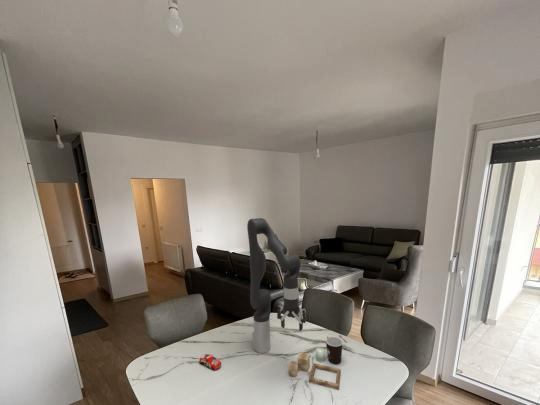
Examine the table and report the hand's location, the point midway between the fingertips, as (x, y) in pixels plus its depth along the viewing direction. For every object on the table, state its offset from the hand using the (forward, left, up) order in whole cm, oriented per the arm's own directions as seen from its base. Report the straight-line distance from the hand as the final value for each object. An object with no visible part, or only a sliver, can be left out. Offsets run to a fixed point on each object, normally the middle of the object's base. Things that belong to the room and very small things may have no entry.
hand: (292, 328), depth 113 cm
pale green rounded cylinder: (+11, +15, -22) cm, 29 cm away
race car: (-43, -7, -23) cm, 49 cm away
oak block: (+4, +6, -22) cm, 23 cm away
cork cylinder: (0, 0, -22) cm, 22 cm away
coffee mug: (+18, +18, -22) cm, 34 cm away
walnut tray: (+15, +3, -22) cm, 27 cm away
